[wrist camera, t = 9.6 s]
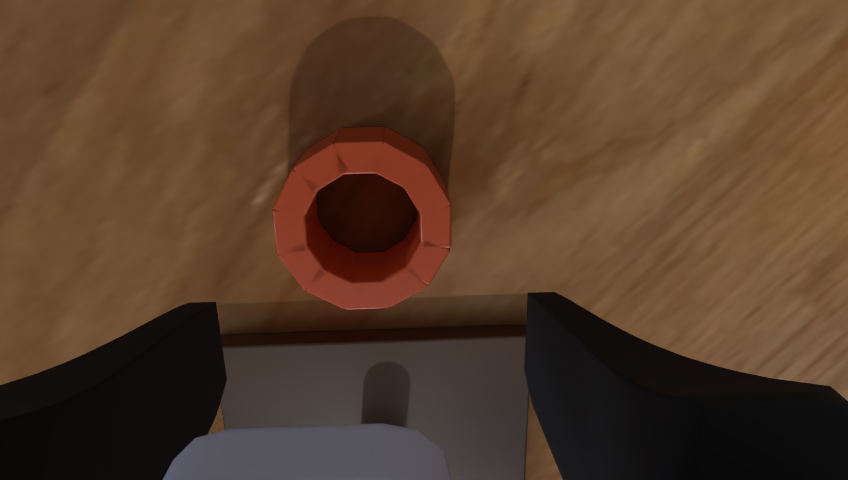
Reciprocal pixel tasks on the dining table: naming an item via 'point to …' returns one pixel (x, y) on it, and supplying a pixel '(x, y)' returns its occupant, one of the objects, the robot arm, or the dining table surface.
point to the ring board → (391, 388)
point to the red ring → (363, 271)
